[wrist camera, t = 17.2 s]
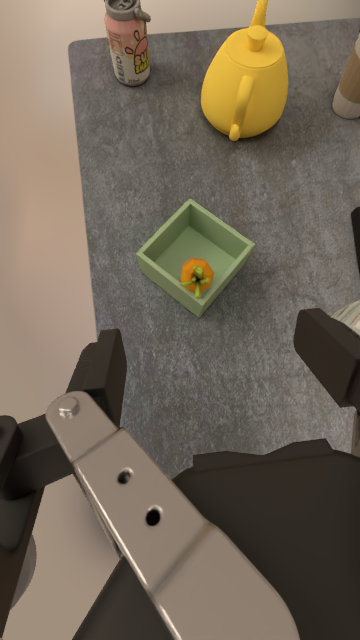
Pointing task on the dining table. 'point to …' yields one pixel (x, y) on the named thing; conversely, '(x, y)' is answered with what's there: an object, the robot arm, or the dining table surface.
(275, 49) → the teapot
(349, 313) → the ink box
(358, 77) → the coffee cup
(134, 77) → the beverage can
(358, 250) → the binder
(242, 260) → the bin
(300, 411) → the dining table surface
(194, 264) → the carrot
